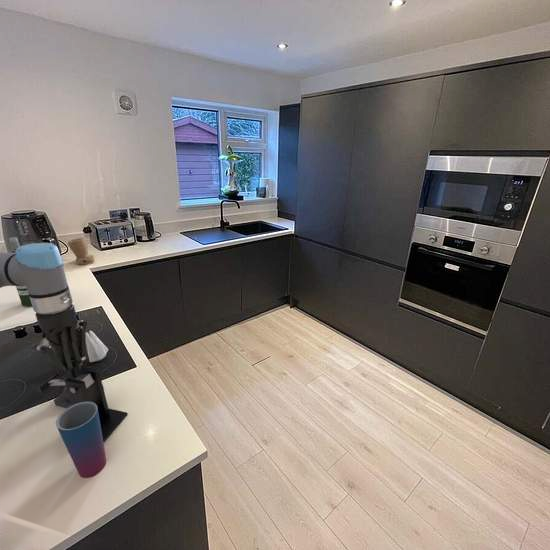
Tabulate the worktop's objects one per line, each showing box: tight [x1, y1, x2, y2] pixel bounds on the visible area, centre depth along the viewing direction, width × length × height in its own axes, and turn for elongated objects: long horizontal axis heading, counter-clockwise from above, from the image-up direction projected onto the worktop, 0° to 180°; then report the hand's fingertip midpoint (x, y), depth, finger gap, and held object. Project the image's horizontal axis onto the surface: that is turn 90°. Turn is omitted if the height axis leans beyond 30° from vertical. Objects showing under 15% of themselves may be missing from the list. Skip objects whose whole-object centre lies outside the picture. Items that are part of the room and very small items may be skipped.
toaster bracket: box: [65, 366, 129, 444], centre depth 68 cm, size 11×9×16 cm
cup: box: [55, 402, 107, 479], centre depth 59 cm, size 7×7×15 cm
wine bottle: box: [8, 236, 33, 308], centre depth 124 cm, size 8×8×30 cm
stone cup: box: [67, 237, 95, 265], centre depth 179 cm, size 15×12×15 cm
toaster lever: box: [36, 373, 94, 394], centre depth 67 cm, size 13×5×2 cm, turn 77°
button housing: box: [53, 383, 105, 409], centre depth 78 cm, size 8×8×4 cm
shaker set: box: [81, 330, 109, 366], centre depth 91 cm, size 12×4×11 cm, turn 119°
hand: (77, 385), depth 77 cm, fingers closed
